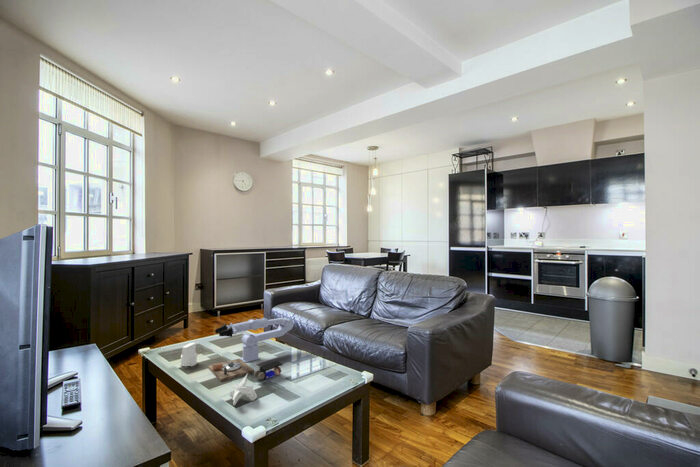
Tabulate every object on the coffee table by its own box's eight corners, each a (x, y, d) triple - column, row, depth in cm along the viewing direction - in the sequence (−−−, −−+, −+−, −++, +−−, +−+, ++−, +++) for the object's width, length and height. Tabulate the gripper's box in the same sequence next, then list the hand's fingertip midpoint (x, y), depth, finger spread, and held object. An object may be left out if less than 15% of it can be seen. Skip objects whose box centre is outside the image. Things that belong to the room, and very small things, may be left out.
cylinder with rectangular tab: (190, 367, 198) (190, 348, 198) (177, 366, 199) (177, 346, 200) (199, 362, 206) (200, 343, 207) (187, 361, 208) (187, 342, 208)
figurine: (234, 415, 158) (253, 411, 152) (219, 402, 154) (238, 398, 148) (247, 388, 170) (265, 384, 164) (233, 375, 166) (251, 371, 160)
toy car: (260, 386, 176) (284, 375, 187) (258, 373, 175) (282, 362, 186) (254, 382, 181) (277, 371, 191) (252, 369, 180) (276, 359, 191)
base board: (239, 360, 209) (239, 353, 209) (253, 372, 191) (253, 363, 191) (208, 368, 196) (208, 360, 197) (220, 381, 179) (220, 372, 179)
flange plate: (240, 363, 201) (240, 358, 201) (240, 370, 190) (240, 364, 190) (213, 366, 196) (213, 361, 196) (212, 373, 185) (212, 368, 185)
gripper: (234, 319, 213) (213, 323, 204) (243, 324, 201) (220, 329, 193) (235, 329, 213) (213, 334, 204) (243, 335, 202) (221, 340, 193)
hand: (217, 332), depth 198 cm, fingers open, 7 cm apart
